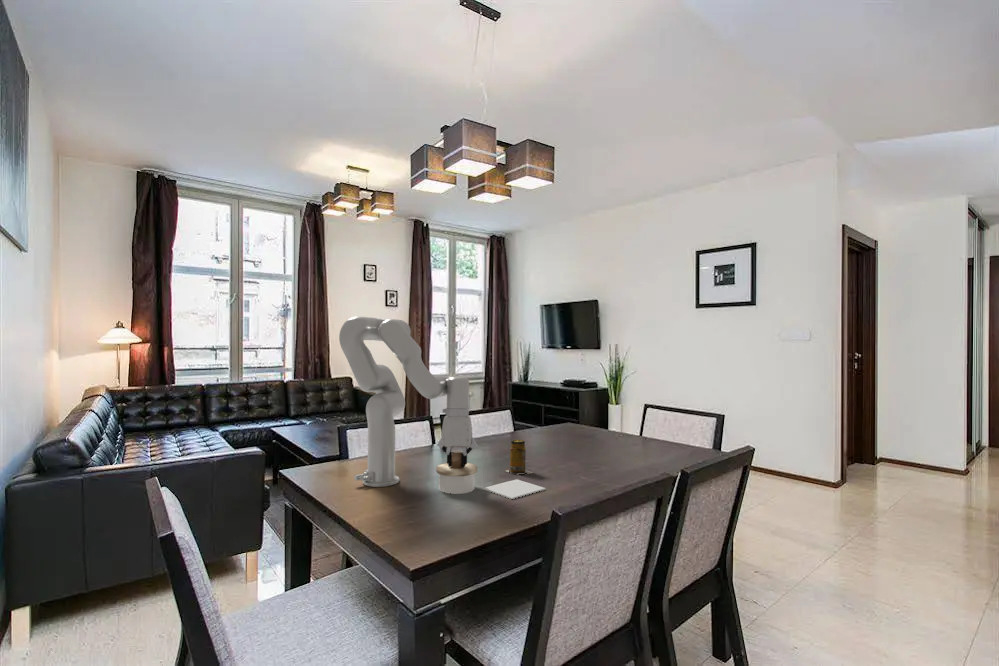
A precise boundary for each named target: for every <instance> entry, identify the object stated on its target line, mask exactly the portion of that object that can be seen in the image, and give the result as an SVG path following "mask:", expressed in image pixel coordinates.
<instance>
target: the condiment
mask: <svg viewBox="0 0 999 666" xmlns="http://www.w3.org/2000/svg"><path fill="white" fill-rule="evenodd" d="M525 443H526V442H525V440H523V439H512V440H511V442H510V447H509V448H510V449H509V469H507V470H505V472H507V473H509V470H510V473H509V474H514V475H517V476H520V475H519V474H515V473H524V472H525V470H526V456H527V455H526V447H525V446H526V445H525ZM526 471H527V472H528V473H527V474H526V475H529V474H533V473H534V472H533V471H529V470H526ZM529 472H530V473H529ZM525 473H526V472H525Z"/></svg>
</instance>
